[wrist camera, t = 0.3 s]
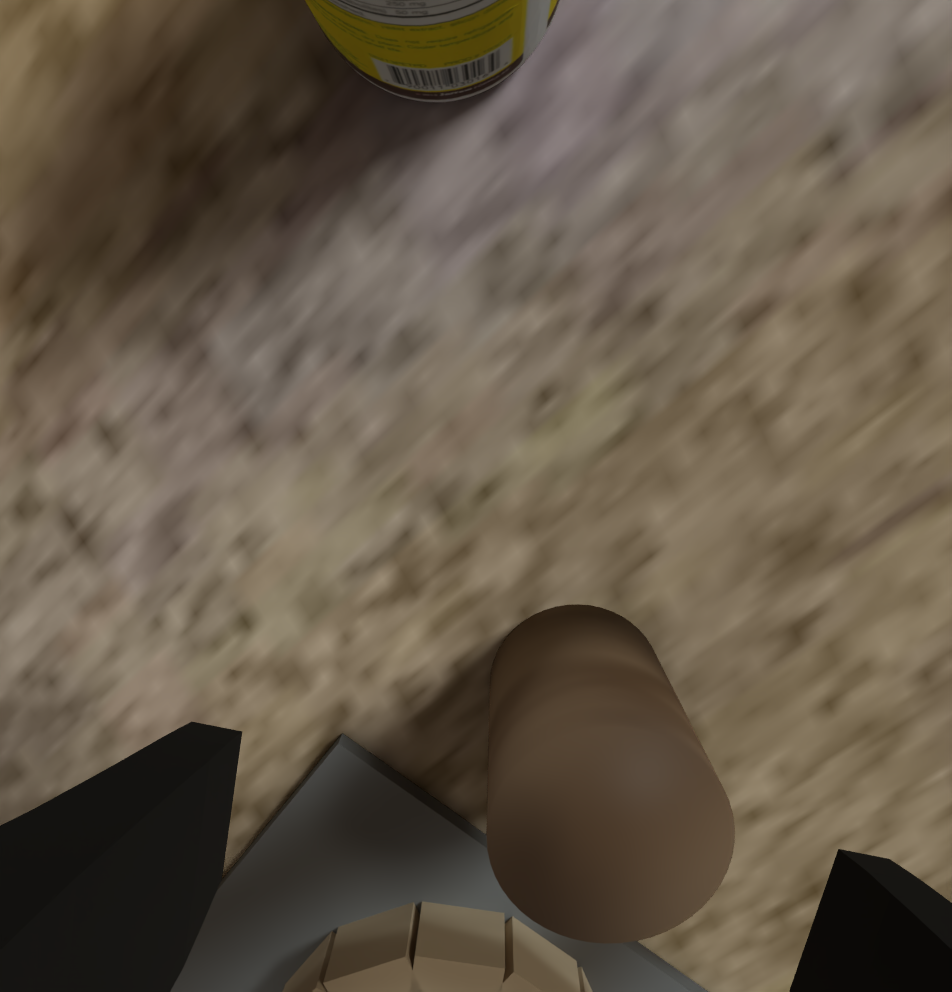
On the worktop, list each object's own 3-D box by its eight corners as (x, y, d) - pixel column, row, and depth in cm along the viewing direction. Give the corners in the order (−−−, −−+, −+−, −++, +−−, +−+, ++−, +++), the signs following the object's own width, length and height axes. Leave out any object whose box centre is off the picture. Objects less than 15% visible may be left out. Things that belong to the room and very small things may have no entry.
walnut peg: (696, 673, 19) (786, 823, 13) (586, 791, 20) (623, 984, 14) (563, 570, 18) (594, 678, 12) (455, 696, 19) (437, 854, 13)
